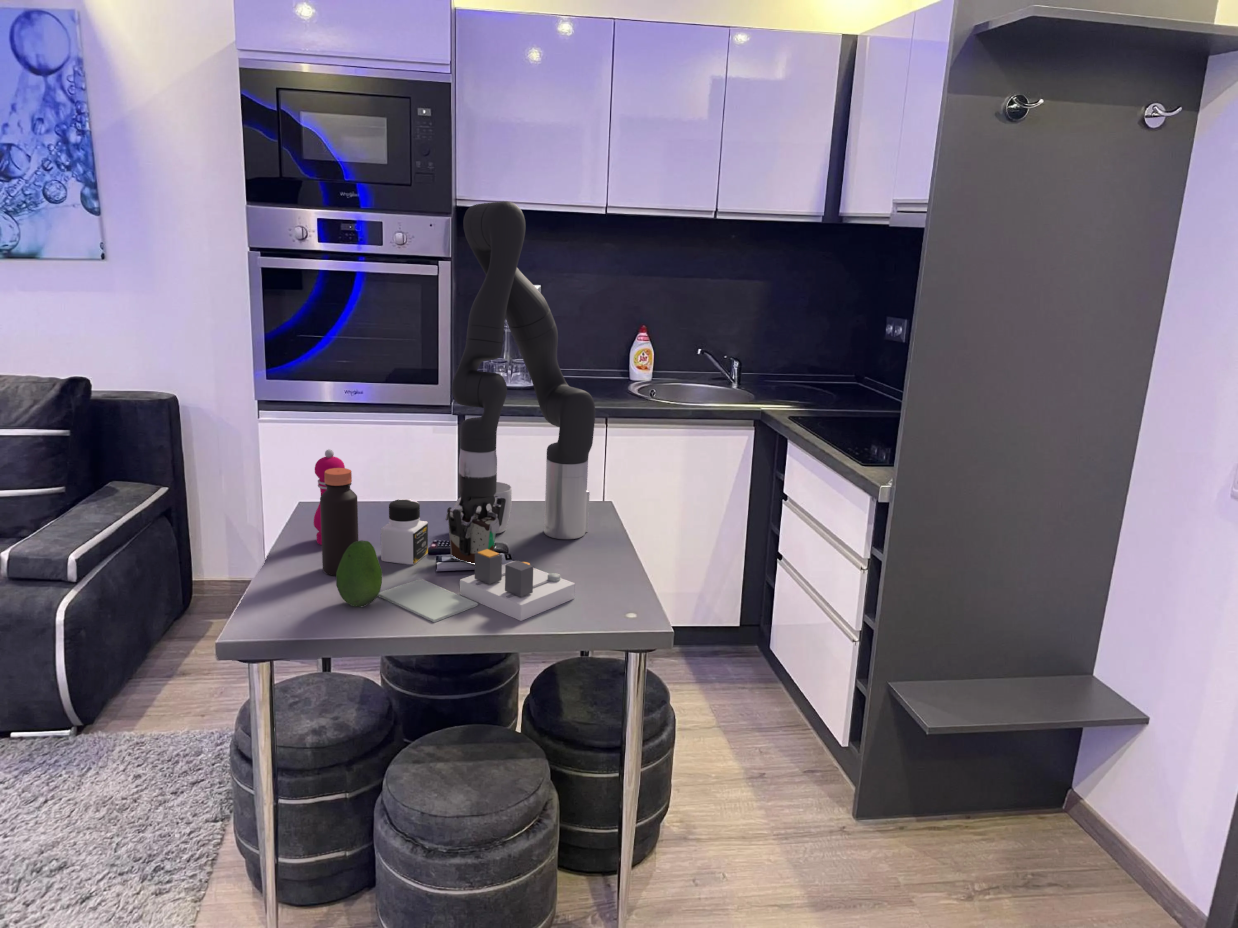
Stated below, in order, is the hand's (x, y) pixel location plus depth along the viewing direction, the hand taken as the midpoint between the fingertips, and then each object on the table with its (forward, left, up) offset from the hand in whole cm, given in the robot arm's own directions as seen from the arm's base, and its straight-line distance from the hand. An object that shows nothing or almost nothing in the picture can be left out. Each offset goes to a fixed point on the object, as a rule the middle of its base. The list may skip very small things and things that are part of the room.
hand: (476, 550), depth 183 cm
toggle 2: (+11, +23, +1) cm, 25 cm away
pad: (+20, +9, -2) cm, 22 cm away
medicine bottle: (+9, -11, -2) cm, 15 cm away
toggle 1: (+11, +15, +1) cm, 18 cm away
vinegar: (+22, -14, -2) cm, 27 cm away
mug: (-14, -13, -2) cm, 19 cm away
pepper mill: (+14, -29, -2) cm, 32 cm away
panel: (+7, +19, -2) cm, 20 cm away
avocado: (+29, +2, -2) cm, 29 cm away
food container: (-1, 0, -2) cm, 2 cm away
